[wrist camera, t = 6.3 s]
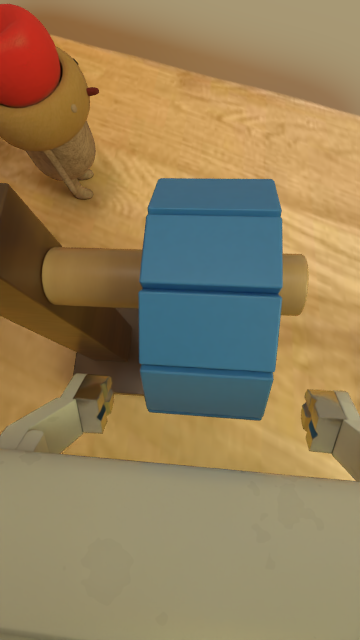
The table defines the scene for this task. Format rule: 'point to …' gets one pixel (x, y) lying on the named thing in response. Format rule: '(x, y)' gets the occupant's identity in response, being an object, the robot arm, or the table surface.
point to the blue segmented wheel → (210, 297)
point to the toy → (44, 100)
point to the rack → (89, 294)
